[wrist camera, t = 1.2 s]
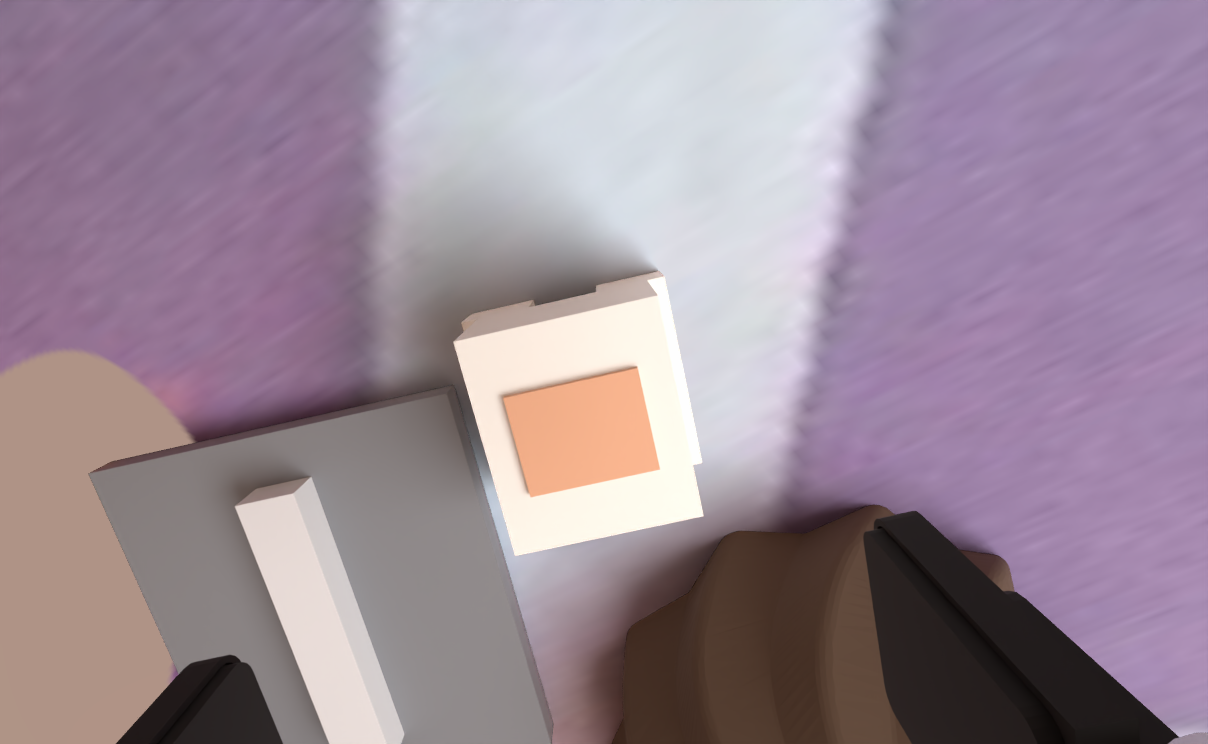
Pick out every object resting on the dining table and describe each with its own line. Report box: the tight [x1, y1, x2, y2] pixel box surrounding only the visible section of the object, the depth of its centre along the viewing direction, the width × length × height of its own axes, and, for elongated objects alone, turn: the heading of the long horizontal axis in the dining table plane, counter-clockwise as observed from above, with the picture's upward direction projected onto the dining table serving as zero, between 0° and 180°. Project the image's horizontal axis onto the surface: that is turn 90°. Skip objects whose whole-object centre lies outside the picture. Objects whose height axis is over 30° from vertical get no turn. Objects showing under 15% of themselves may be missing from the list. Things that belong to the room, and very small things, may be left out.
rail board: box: [89, 385, 553, 744], centre depth 26 cm, size 16×14×3 cm
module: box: [453, 271, 704, 556], centre depth 22 cm, size 7×7×6 cm
